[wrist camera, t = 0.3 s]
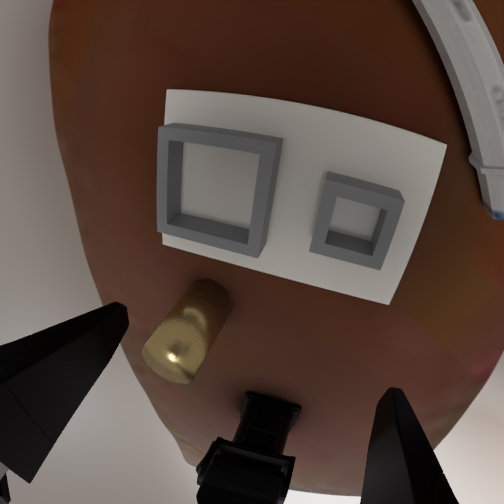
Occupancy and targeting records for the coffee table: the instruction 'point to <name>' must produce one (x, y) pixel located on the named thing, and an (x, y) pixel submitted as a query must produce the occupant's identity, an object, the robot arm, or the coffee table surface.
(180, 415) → the coffee table surface
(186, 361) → the gold metallic cylinder
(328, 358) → the coffee table surface
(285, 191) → the white socket board
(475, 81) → the white handheld shower head
